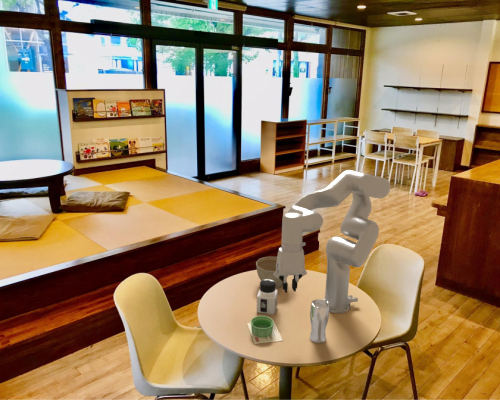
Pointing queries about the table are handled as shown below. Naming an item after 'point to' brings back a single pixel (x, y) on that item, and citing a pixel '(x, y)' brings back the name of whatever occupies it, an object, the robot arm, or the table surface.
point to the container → (267, 297)
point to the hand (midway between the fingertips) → (289, 290)
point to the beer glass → (319, 320)
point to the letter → (271, 338)
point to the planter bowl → (268, 270)
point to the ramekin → (262, 326)
